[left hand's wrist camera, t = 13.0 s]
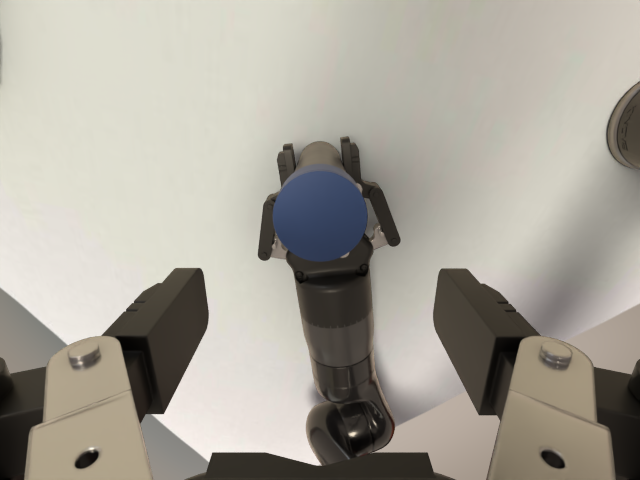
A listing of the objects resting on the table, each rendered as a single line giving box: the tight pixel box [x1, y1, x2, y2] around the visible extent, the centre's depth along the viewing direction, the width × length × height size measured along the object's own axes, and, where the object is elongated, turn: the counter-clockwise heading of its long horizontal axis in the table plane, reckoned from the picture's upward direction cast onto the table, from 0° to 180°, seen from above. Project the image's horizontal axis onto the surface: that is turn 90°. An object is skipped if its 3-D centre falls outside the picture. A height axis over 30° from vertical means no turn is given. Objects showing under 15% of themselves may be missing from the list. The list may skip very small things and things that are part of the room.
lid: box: [273, 164, 367, 262], centre depth 20 cm, size 5×5×2 cm
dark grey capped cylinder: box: [295, 141, 346, 172], centre depth 28 cm, size 4×4×19 cm
